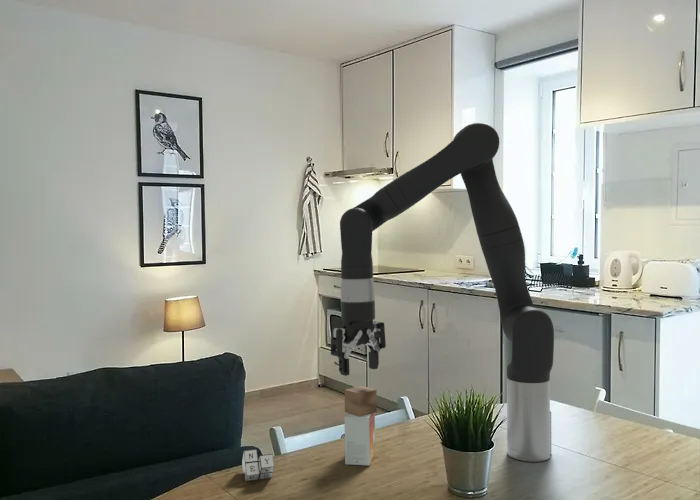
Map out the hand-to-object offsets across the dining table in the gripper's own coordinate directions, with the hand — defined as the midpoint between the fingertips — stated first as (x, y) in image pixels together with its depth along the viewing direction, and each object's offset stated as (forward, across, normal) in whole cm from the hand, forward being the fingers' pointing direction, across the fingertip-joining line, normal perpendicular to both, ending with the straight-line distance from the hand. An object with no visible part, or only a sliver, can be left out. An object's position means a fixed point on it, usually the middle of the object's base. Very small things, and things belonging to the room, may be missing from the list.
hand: (359, 371), depth 134 cm
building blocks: (+19, -23, +7) cm, 31 cm away
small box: (+20, 0, 0) cm, 20 cm away
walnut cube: (+9, 0, 0) cm, 9 cm away
